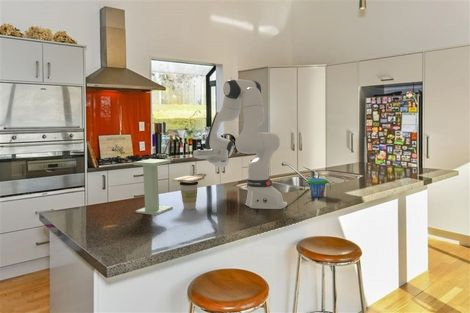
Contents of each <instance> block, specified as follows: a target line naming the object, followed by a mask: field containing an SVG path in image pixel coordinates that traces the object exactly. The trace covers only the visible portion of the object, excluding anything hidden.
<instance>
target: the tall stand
mask: <svg viewBox="0 0 470 313" xmlns="http://www.w3.org/2000/svg"><path fill="white" fill-rule="evenodd" d="M171 163H172V160H171V159H161V158H158V159H157V158H148V159H144V160H138V161H133V164H132V165H133V166H142V169H143V189H144V190H143V192H144V193H143V194H144V207H142V208H139V209H136V210H135V213H136V214H145V215H153V216H158V215H160V214H164V213H166V212H168V211H171V210H173V209H174V207H173V206H171V205H168V206H167V205H160V204H159V203H160V198H159V178H158V177H159V175H158V166H161V165H167V164H171ZM170 209H171V210H170Z"/></svg>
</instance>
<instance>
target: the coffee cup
mask: <svg viewBox="0 0 470 313" xmlns="http://www.w3.org/2000/svg"><path fill="white" fill-rule="evenodd" d="M198 184H199V181H197V182H194V183H187V182H179V186H180V193H181V200H182V204H183V210H186V211H187V210H188V211H189V210H190V211H191V210H195V209H196V208H197V207H196V206H197V198H198Z"/></svg>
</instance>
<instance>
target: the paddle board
mask: <svg viewBox="0 0 470 313" xmlns="http://www.w3.org/2000/svg"><path fill="white" fill-rule="evenodd" d="M206 176H207V174H206V173H197V174H194V175H182V176H180V177H176V178H173V179H172V182H175V183H180V182H187V183H194V182H199V181H202V180H205V177H206Z"/></svg>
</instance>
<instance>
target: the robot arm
mask: <svg viewBox="0 0 470 313" xmlns="http://www.w3.org/2000/svg"><path fill="white" fill-rule="evenodd" d="M261 93H262V86H261V84H260V83H259V82H258V81H256V80H248V79H243V78H242V79H239V78H238V79H232V78H231V79H228V80H226V81H225V83H224V85H223V94H224V97H223V100H222V101H223V102H222V106H221V108H220V110H217V112H216V113H215V115H214V117H213V120H212V123H211V124H210V126H211V127H210V128H209V131H208V134H207V136H206V138H205V141H204V145H205V147H206V149H202V150H201V149H196V150H193V153H192V154H193V155H192V157H193V158H195V159H198V160H207V161H208V162H209V163H210V164H212V165H213V166H215V167H216V168H219V169H222V168H226V167H227V166H228V165H229V163H230V161H229V160H230V158H231V157H232V156H233V153H234V151H235V148H236V150H237V152H238V153H240V154H247V155H252V154H255V156H254V158H253V160H251V161H250V162H249V163H248V165H247V178H246V181H247V182H246V186H247V188H246V189H247V195H246V200H245V205H246V206H247V207H249V208H250V209H261V210H263V209H264V210H266V209H267V210H281V209H284V208H286V207H287V206H288V202H286V201H284V199H283V194H282V193H281V191H279V190H278V189H277V188H275V187H274V186H273V179H270V178H269V169H270V167H269V166H270V161H271V158H272V156H273V155H274V153H275V152H276V151H277V150H278V149H279V147H280V144H281V142H280V137H279V136H278V134H276V133H274V132H259V127H260V126H261V125H263V124H264V122H265V120H266V115H265V108H264V102H263V101H264V100H263V97H262V94H261ZM242 109H243V110H242ZM241 110H242V111H243V120H244V122H243V127H242V131H241V132H240V133H239V135H237V137H236V139H235V142H233V141H232V140H230V139H228V138H224V137H222V136H219V135H218V132H219V129H220V126H221V123H224V122H232V121H235V120H236V119H238V117H239V116H240V114H241ZM234 143H235V144H234Z"/></svg>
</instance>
